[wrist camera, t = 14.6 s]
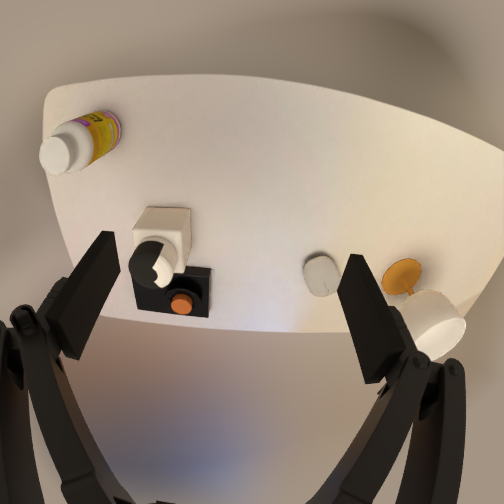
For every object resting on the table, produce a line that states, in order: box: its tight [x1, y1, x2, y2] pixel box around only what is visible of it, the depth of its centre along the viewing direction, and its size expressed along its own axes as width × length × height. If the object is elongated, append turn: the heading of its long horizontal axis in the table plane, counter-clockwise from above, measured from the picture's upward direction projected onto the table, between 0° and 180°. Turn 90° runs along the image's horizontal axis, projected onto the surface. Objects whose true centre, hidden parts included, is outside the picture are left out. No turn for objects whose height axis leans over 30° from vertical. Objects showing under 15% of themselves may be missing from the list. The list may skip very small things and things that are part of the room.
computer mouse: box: [304, 256, 341, 297], centre depth 49 cm, size 6×10×3 cm, turn 24°
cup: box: [382, 259, 466, 361], centre depth 44 cm, size 12×12×17 cm
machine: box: [131, 266, 211, 318], centre depth 50 cm, size 14×10×4 cm
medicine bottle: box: [128, 207, 191, 289], centre depth 40 cm, size 7×7×12 cm
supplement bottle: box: [40, 111, 121, 176], centre depth 30 cm, size 7×7×13 cm
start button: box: [171, 294, 193, 314], centre depth 48 cm, size 4×4×2 cm
